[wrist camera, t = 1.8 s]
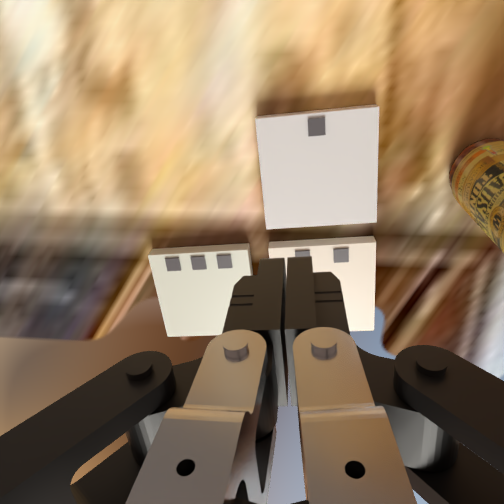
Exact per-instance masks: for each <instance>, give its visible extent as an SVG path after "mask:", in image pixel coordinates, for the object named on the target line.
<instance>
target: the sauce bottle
mask: <svg viewBox="0 0 504 504" xmlns="http://www.w3.org/2000/svg"><path fill="white" fill-rule="evenodd" d="M449 175H450V177H449V178H450V186H451V189H452V192H453V195H454V197H455V199H456V200H457V202H458V203H459V204H460V205H461V206H462V208H463V209H464V210H465V211H466V212H467V213H468V214H469V215H470V216H471V217H472V219H473V220H474V221H475V222H476V223H477V224H478V225H479V226H480V227H481V229H482V230H483V231H484V232H485V233H486V234H487V235H488V236H489V237H490V239H491V240H492V241H493V242H494V243H495V244H496V245H497V246H498V247H499V249H500V250H501V251H502V252H503V253H504V140H500V139H493V138H491V139H484V140H481V141H477V142H475V143H474V144H471V145H470V146H468V147H467V148H465V149H464V150H463V151H462V152H461V154H460V155H459V156H458V157H457V159H456V160H455V162H454V163H453V165H452V168H451V171H450V173H449Z"/></svg>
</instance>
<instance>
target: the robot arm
mask: <svg viewBox="0 0 504 504" xmlns="http://www.w3.org/2000/svg"><path fill="white" fill-rule="evenodd" d="M288 372H289V384H290V394H291V406H298V418H299V431H300V442H301V452H302V462H303V473H304V483H305V493H306V500H305V501H300V502H296V503H292V504H417V502H416V499H415V496H414V493H413V490H414V491H416V493H418V494H419V495H420V496H421V497H422V498H423V499H424V500H425V501H426V502H427V503H429V504H504V381H503V380H501V379H499V378H497V377H495V376H494V375H492V374H490V373H488V372H486V371H485V370H483V369H481V368H479V367H477V366H476V365H474V364H472V363H470V362H468V361H467V360H465V359H463V358H461V357H459V356H458V355H456V354H454V353H452V352H450V351H448V350H446V349H443V348H440V347H436V346H429V345H417V346H412V347H408V348H406V349H404V350H402V351H401V352H400V353H399V354H398V355H397V356H396V358H395V360H393V359H389V358H384V357H379V356H375V355H372V354H370V353H368V352H366V351H364V350H362V349H361V348H359V347H358V346H357V345H356V344H355V341H354V340H353V338H352V337H351V336H350V331H349V326H348V321H347V315H346V310H345V304H344V299H343V294H342V288H341V283H340V280H339V279H338V278H337V277H336V276H335V275H334V274H333V273H332V272H313V265H312V256H303V257H287V278H286V266H285V258H267V259H260V262H259V268H258V274H257V275H250V276H243V277H242V278H241V279H240V280H239V281H238V282H237V283H236V284H235V285H234V288H233V292H232V298H231V300H230V304H229V308H228V311H227V315H226V319H225V323H224V327H223V331H222V334H220V335H218V336H217V337H215V338H214V339H213V340H212V341H211V342H210V343H209V345H208V347H207V349H206V351H205V354H204V356H203V357H201V358H199V359H197V360H193V361H190V362H186V363H182V364H179V365H175V366H172V363H171V360H170V359H169V357H167V356H166V355H165V354H163V353H160V352H156V351H146V352H140V353H136V354H133V355H131V356H129V357H127V358H125V359H123V360H122V361H120V362H118V363H117V364H115V365H114V366H112V367H110V368H109V369H107V370H106V371H104V372H103V373H101V374H99V375H98V376H96V377H95V378H93V379H91V380H90V381H88V382H86V383H85V384H83V385H82V386H80V387H79V388H77V389H75V390H74V391H72V392H70V393H69V394H67V395H66V396H64V397H62V398H61V399H59V400H58V401H56V402H54V403H53V404H51V405H50V406H48V407H46V408H45V409H43V410H42V411H40V412H38V413H37V414H35V415H34V416H32V417H30V418H29V419H27V420H25V421H24V422H22V423H21V424H19V425H18V426H16V427H14V428H13V429H11V430H10V431H8V432H7V433H5V434H3V435H2V436H0V504H267V500H268V492H269V485H270V478H271V470H272V463H273V455H274V448H275V441H276V422H277V411H278V406H287V405H288V403H287V402H288ZM124 433H126V436H127V438H128V442H127V443H126V444H125V445H123V446H122V447H121V448H120V449H118V450H117V451H116V452H114V453H113V454H112V455H110V456H109V457H108V458H107V459H105V460H104V461H103V462H102V463H100V464H99V465H97V466H96V467H95V468H94V469H92V470H91V471H90V472H88V473H87V474H86V475H84V476H83V477H82V478H81V479H79V480H78V481H77V482H75V483H74V484H72V485H70V484H71V480H72V477H73V476H74V474H75V472H76V471H77V470H78V469H79V468H80V467H81V466H82V465H83V464H84V463H86V462H87V461H88V460H90V459H91V458H92V457H93V456H95V455H96V454H97V453H99V452H100V451H101V450H103V449H104V448H105V447H107V446H108V445H109V444H111V443H112V442H113V441H115V440H116V439H117V438H119V437H120V436H121V435H123V434H124ZM461 443H462V444H461ZM468 448H469V449H468ZM472 451H473V452H472ZM483 459H484V460H483ZM494 467H495V468H494ZM412 489H413V490H412Z"/></svg>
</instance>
